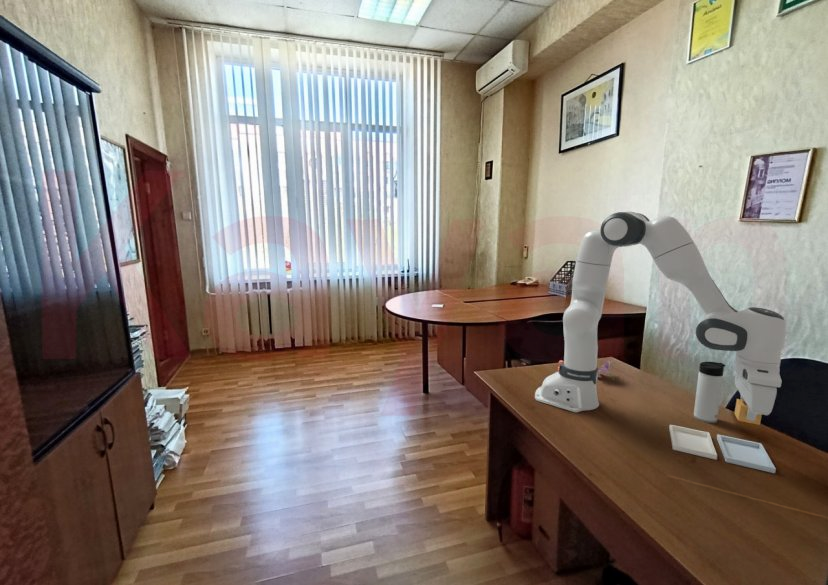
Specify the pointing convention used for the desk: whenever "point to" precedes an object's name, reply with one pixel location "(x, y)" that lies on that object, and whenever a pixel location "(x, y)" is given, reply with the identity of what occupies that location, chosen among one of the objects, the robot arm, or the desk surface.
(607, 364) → the lily
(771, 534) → the desk surface
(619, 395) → the desk surface
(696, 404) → the travel mug
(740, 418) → the letter cube
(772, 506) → the desk surface
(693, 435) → the tray white
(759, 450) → the tray bluegrey
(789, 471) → the desk surface
